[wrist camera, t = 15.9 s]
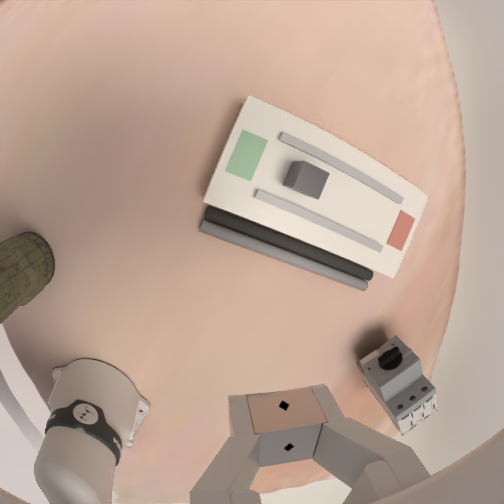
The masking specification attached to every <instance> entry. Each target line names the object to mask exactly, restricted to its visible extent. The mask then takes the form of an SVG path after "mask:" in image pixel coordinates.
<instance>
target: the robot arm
mask: <svg viewBox="0 0 504 504" xmlns="http://www.w3.org/2000/svg"><path fill="white" fill-rule="evenodd" d="M52 377H53V381H54V385H55V386H54V388H53V390H52V393H51V395H50V397H49V400H48V405H49V408H50V411H51V413H52V414H51V416H50V418H49V419H48V421H47V424H46V429H45V435H46V436H45V438H44V441H43V443H42V446H41V448H40V451H39V453H38V456H37V459H36V461H35V464H34V475H35V479H36V482H37V484H38V486H39V487H40V489H41V490H42V492H43V493H44V494H45V496H46V498H47V499H48V501H49V503H50V504H112V488H113V479H114V472H115V467H116V466H117V465H118V463H119V459H120V458H121V453H122V452H121V451H122V447H123V446H126V447H128V448H130V447H131V446H132V443H133V439H134V435H135V434H134V432H135V430H136V429H137V427H138V426H139V424H140V423H141V422H142V420H143V419H144V417H145V416H146V414H147V413H148V411H149V409H150V404H149V403H148V401H146V400H145V399H144V398H143V397H142V396H140V395H139V393H138V392H137V390H136V388H135V387H134V385H133V384H132V382H131V381H130V380H129V379H128V378H127V377H126V376H125V375H124V374H123V373H121V372H120V371H119V370H117V369H116V368H114V367H112V366H110V365H108V364H106V363H103V362H100V361H96V360H91V359H80V360H76V361H73V362H72V363H70V364H69V365H67V366H66V367H59V368H55V369H54V370H53V372H52ZM228 403H229V422H230V434H231V437H229V438H228V439H227V441H226V442H225V444H224V445H223V447H222V448H221V450H220V451H219V452H218V454H217V455H216V457H215V458H214V460H213V461H212V462H211V464H210V465H209V467H208V468H207V469H206V471H205V472H204V474H203V475H202V476H201V478H200V479H199V480H198V482H197V483H196V484H195V486H194V487H193V489H192V490H191V491H190V504H261V500H260V496H259V493H258V492H256V491H254V490H249V488H250V486H251V484H252V482H253V480H254V478H255V476H256V473H257V471H258V469H259V467H264V466H271V465H276V464H282V463H288V462H294V461H301V460H306V459H312V458H313V460H314V461H315V462H317V463H318V464H319V465H321V466H322V467H323V468H325V469H326V470H327V471H328V472H330V473H331V474H333V475H334V476H335V477H337V478H338V479H340V480H341V481H342V482H344V483H345V484H347V485H348V486H349V487H351V488H352V490H351V492H350V493H349V495H348V496H347V498H346V499H345V501H344V503H343V504H504V428H503V429H502V430H501V431H499V432H498V433H497V434H495V435H494V436H493V437H491V438H490V439H489V440H487V441H486V442H485V443H483V444H482V445H480V446H479V447H477V448H476V449H474V450H473V451H471V452H470V453H469V454H467V455H465V456H464V457H462V458H461V459H459V460H458V461H456V462H454V463H453V464H451V465H449V466H447V467H446V468H444V469H442V470H441V471H439V472H437V473H435V474H433V475H431V476H430V474H429V473H428V471H427V470H426V468H425V467H424V465H423V464H422V463H421V461H420V460H419V458H418V457H417V455H416V454H415V453H414V451H413V449H412V448H411V447H409V446H407V445H405V444H403V443H401V442H398V441H396V440H394V439H392V438H390V437H388V436H386V435H383V434H381V433H379V432H377V431H375V430H373V429H371V428H369V427H367V426H365V425H363V424H361V423H359V422H357V421H355V420H353V419H351V418H345V417H344V415H343V414H342V412H341V410H340V408H339V407H338V405H337V403H336V401H335V399H334V398H333V396H332V394H331V392H330V391H329V389H328V387H327V386H326V385H325V384H321V385H316V386H310V387H304V388H298V389H292V390H285V391H277V392H269V393H257V394H246V395H229V396H228ZM0 504H30V503H27V502H25V501H24V500H22V499H20V498H18V497H16V496H14V495H12V494H10V493H9V492H7V491H5V490H3V489H1V488H0Z"/></svg>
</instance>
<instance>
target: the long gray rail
mask: <svg viewBox="0 0 504 504" xmlns="http://www.w3.org/2000/svg"><path fill="white" fill-rule="evenodd" d="M204 218H206V219H208V220H211V221H214V222H216V223H219V224H222V225H224V226H227V227H230V228H233V229H235V230H238V231H241V232H243V233H246V234H249V235H251V236H254V237H257V238H259V239H262V240H265V241H267V242H270V243H272V244H275V245H278V246H280V247H283V248H286V249H288V250H291V251H293V252H296V253H299V254H301V255H304V256H306V257H309V258H312V259H314V260H317V261H319V262H322V263H325V264H327V265H330V266H332V267H335V268H338V269H340V270H343V271H345V272H348V273H350V274H353V275H355V276H358V277H361V278H363V279H366V280H368V281H369V280H371V279H372V277H373V271H371V270H369V269H367V268H364V267H362V266H359V265H357V264H355V263H352V262H350V261H347V260H345V259H342V258H340V257H338V256H335V255H333V254H330V253H328V252H325V251H323V250H321V249H318V248H316V247H313V246H311V245H308V244H306V243H303V242H301V241H298V240H296V239H293V238H291V237H288V236H286V235H283V234H281V233H278V232H275V231H273V230H270V229H268V228H265V227H263V226H260V225H258V224H255V223H252V222H250V221H247V220H245V219H242V218H239V217H237V216H234V215H231V214H229V213H226V212H224V211H221V210H218V209H216V208H213V207H210V206H208V208H207V211H206V213H205V216H204ZM199 231H200V232H202V233H205V234H208V235H211V236H214V237H216V238H219V239H222V240H225V241H227V242H230V243H233V244H236V245H238V246H241V247H244V248H247V249H249V250H252V251H255V252H258V253H260V254H263V255H266V256H269V257H271V258H274V259H277V260H280V261H282V262H285V263H288V264H291V265H293V266H296V267H299V268H302V269H304V270H307V271H310V272H313V273H315V274H318V275H321V276H324V277H326V278H329V279H332V280H335V281H337V282H340V283H343V284H346V285H348V286H351V287H354V288H357V289H359V290H362V291H365V290H366V289H367V287H368V282H367V281H365V280H362V279H360V278H357V277H355V276H352V275H350V274H347V273H344V272H342V271H339V270H337V269H334V268H332V267H329V266H326V265H324V264H321V263H319V262H316V261H313V260H311V259H308V258H305V257H303V256H300V255H298V254H295V253H292V252H290V251H287V250H284V249H282V248H279V247H277V246H274V245H271V244H269V243H266V242H263V241H261V240H258V239H255V238H253V237H250V236H247V235H245V234H242V233H239V232H237V231H234V230H231V229H229V228H226V227H223V226H220V225H218V224H215V223H212V222H210V221H207V220H204V219H203V221H202V224H201V227H200V230H199Z"/></svg>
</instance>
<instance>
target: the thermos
mask: <svg viewBox="0 0 504 504" xmlns="http://www.w3.org/2000/svg"><path fill="white" fill-rule="evenodd" d="M54 270H55V259H54V256H53V252H52V250H51V248H50V246H49V244H48V243H47V242H46V240H45V239H44V238H43V237H42V236H40V235H38V234H36V233H34V232H26V233H23V234H20V235H17V236H14V237H11V238H9V239H7V240H5V241H3V242H1V243H0V324H1V323H2V322H3V321H4V320H5V319H6V318H7V317H8V316H9V315H10V314H11V313H12V312H13V311H14V310H15V309H17V308H18V307H19V306H24V305H26V304H27V303H29V302H30V301H31V300H32V299H33V298H34V297H35V296H36V295H37V294H38V293H40V292H41V291H42V290H43V288H44V286H45V285H47V284H48V283H49V282H50V280H51V279H52V277H53V275H54Z"/></svg>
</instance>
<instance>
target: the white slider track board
mask: <svg viewBox="0 0 504 504" xmlns="http://www.w3.org/2000/svg"><path fill="white" fill-rule="evenodd" d="M293 161H306V162H308V163H311V164H313V165H315V166H317V167H319V168H321V169H323V170H325V171H327V172H329V173H330V174H329V177H328V179H327V181H326V184H325V186H324V188H323V191H322V193H321V196H320V198H319V200H318V199H315V198H312V197H309V196H306V195H304V194H301V193H299V192H297V191H295V190H292V189H290V188H288V187H286V186H283V183H284V181H285V179H286V176H287V174H288V172H289V169H290V167H291V164H292V162H293ZM427 199H428V196H427V195H426V194H425V193H423V192H422V191H420V190H419V189H418V188H416V187H415V186H413V185H412V184H411V183H409V182H408V181H406V180H405V179H403V178H402V177H400V176H399V175H397V174H396V173H394V172H393V171H391V170H390V169H388V168H387V167H385V166H384V165H382V164H380V163H379V162H377V161H376V160H374V159H372V158H371V157H369V156H367V155H366V154H364V153H363V152H361V151H359V150H357V149H356V148H354V147H352V146H351V145H349V144H347V143H345V142H344V141H342V140H340V139H338V138H336V137H335V136H333V135H331V134H329V133H327V132H325V131H324V130H322V129H320V128H318V127H316V126H314V125H312V124H310V123H308V122H306V121H304V120H302V119H300V118H298V117H296V116H294V115H292V114H290V113H288V112H286V111H283V110H281V109H279V108H277V107H275V106H272V105H270V104H268V103H266V102H263V101H261V100H259V99H256V98H254V97H252V96H249V95H248V97H247V99H246V100H245V102H244V103H243V105H242V107H241V109H240V112H239V114H238V116H237V118H236V120H235V123H234V125H233V127H232V129H231V132H230V134H229V136H228V139H227V141H226V143H225V146H224V148H223V150H222V153H221V155H220V157H219V160H218V162H217V165H216V167H215V169H214V172H213V174H212V177H211V179H210V182H209V184H208V187H207V189H206V192H205V194H204V197H203V202H205V203H207V204H210V205H213V206H215V207H218V208H221V209H223V210H226V211H228V212H231V213H234V214H236V215H239V216H242V217H244V218H247V219H249V220H252V221H254V222H257V223H260V224H262V225H265V226H267V227H270V228H272V229H275V230H277V231H280V232H283V233H285V234H288V235H290V236H293V237H295V238H298V239H300V240H303V241H305V242H307V243H310V244H312V245H315V246H317V247H320V248H322V249H325V250H327V251H330V252H332V253H334V254H337V255H339V256H342V257H344V258H346V259H349V260H351V261H354V262H356V263H358V264H361V265H363V266H365V267H368V268H370V269H373V270H375V271H377V272H380V273H382V274H384V275H387V276H389V277H391V278H394V276H395V274H396V272H397V270H398V268H399V266H400V263H401V261H402V259H403V257H404V255H405V252H406V250H407V248H408V246H409V243H410V241H411V239H412V237H413V234H414V232H415V229H416V227H417V225H418V222H419V220H420V217H421V215H422V212H423V209H424V207H425V204H426V201H427Z"/></svg>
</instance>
